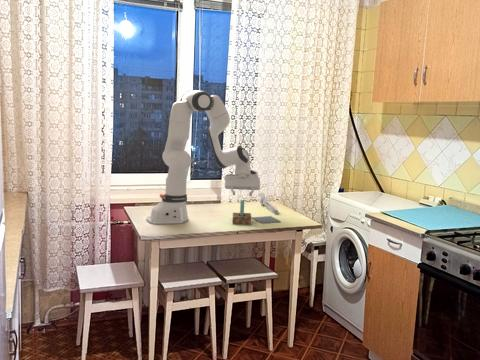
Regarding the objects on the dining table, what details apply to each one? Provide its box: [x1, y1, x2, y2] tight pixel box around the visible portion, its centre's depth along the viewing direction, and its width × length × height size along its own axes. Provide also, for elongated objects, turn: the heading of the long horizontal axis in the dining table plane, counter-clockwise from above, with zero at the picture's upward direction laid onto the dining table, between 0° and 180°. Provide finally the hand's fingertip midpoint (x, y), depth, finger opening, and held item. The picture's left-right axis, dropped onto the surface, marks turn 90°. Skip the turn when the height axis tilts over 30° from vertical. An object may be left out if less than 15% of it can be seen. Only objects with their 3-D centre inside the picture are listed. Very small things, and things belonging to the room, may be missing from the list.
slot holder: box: [232, 212, 252, 226], centre depth 254 cm, size 10×10×4 cm
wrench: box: [258, 192, 279, 215], centre depth 288 cm, size 8×2×30 cm
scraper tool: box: [239, 199, 245, 216], centre depth 253 cm, size 2×3×12 cm, turn 1°
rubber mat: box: [251, 215, 281, 225], centre depth 260 cm, size 12×12×1 cm
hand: (242, 194), depth 260 cm, fingers open, 8 cm apart
